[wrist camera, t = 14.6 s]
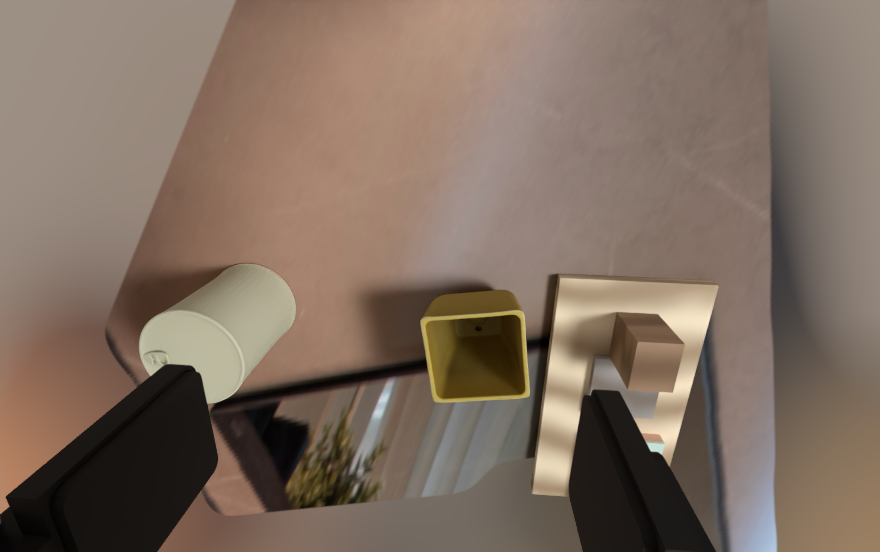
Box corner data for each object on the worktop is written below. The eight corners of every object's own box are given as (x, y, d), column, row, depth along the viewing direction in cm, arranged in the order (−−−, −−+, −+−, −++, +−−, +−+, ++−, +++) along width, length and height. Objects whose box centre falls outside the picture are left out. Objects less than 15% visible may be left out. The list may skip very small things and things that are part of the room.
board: (558, 273, 44) (560, 278, 43) (712, 280, 43) (718, 285, 42) (530, 485, 54) (532, 493, 53) (655, 494, 53) (659, 503, 52)
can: (205, 262, 46) (119, 311, 35) (289, 262, 46) (230, 312, 34) (222, 339, 50) (149, 407, 38) (301, 340, 49) (251, 409, 38)
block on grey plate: (601, 311, 44) (620, 340, 38) (673, 314, 43) (703, 345, 38) (584, 409, 48) (599, 449, 42) (649, 413, 48) (673, 454, 42)
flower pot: (439, 353, 48) (432, 404, 40) (429, 279, 45) (418, 318, 37) (520, 347, 47) (530, 398, 39) (514, 271, 44) (524, 309, 36)
